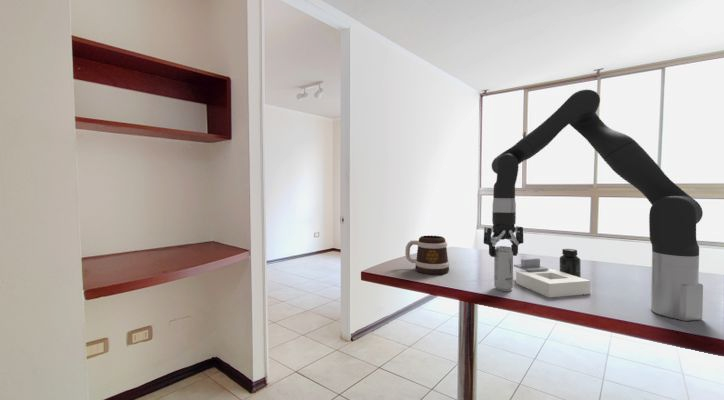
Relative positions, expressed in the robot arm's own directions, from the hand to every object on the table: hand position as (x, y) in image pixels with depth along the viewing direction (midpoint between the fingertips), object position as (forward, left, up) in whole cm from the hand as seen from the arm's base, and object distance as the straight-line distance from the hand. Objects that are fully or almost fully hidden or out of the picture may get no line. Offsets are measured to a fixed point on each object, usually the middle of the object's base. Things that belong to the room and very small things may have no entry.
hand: (503, 256), depth 110 cm
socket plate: (-3, -17, -12) cm, 21 cm away
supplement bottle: (+4, -32, -12) cm, 34 cm away
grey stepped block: (+7, -17, -7) cm, 19 cm away
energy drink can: (0, 0, -12) cm, 12 cm away
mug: (+31, +16, -12) cm, 37 cm away
